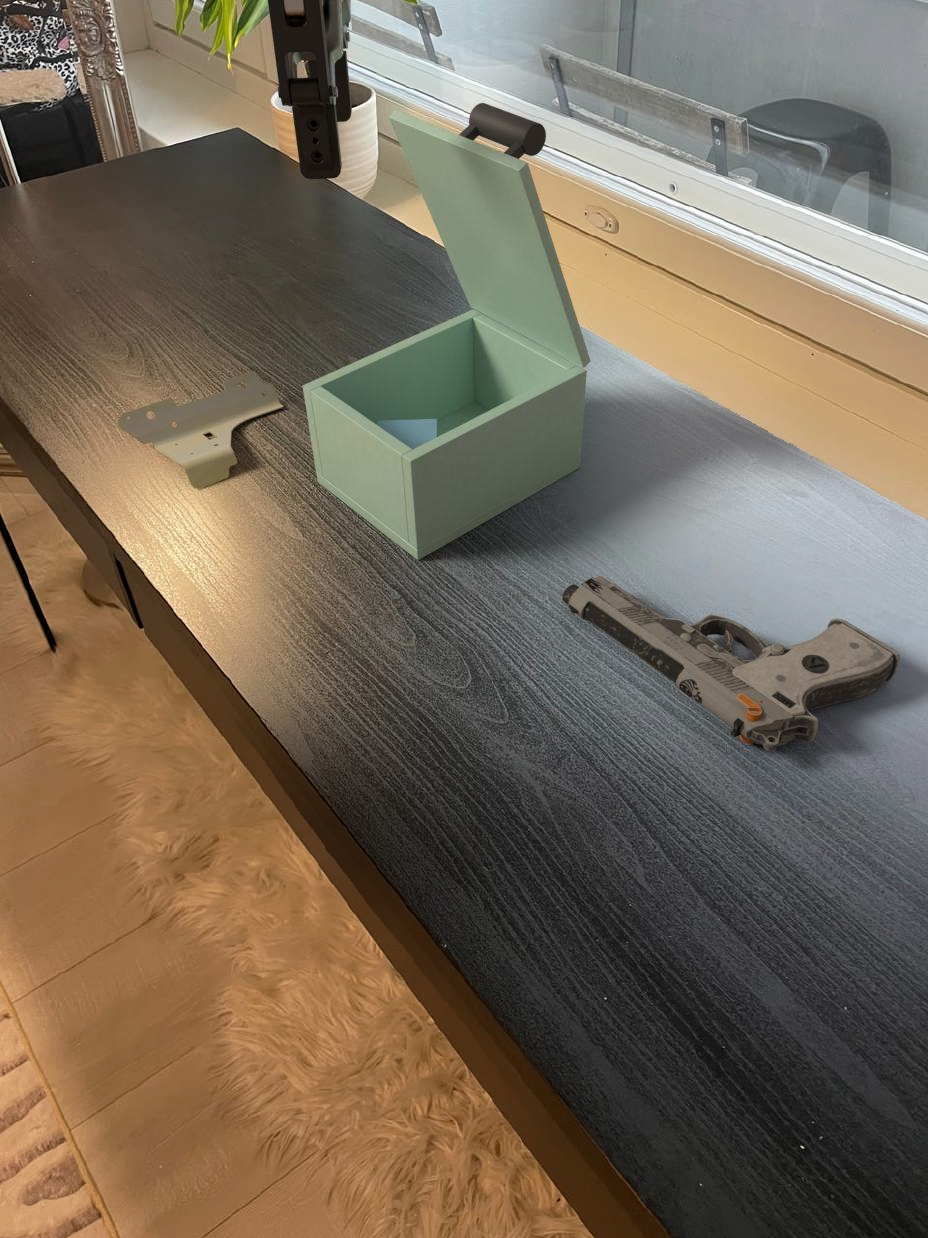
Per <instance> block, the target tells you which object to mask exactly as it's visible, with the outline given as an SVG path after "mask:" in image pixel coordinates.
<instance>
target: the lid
mask: <svg viewBox="0 0 928 1238" xmlns="http://www.w3.org/2000/svg"><path fill="white" fill-rule="evenodd" d="M388 120H389V122H390V124H391V126H392V129H393V131H394V133H395V136H396V138H397V141H398V143H399V145H400V147H401V149H402V152H403V154H404V156H405V159H406V162H407V164H408V166H409V168H410V170H411V173H412V176H413V177H414V180H415V182H416V184H417V187H418V189H419V191H420V193H421V196H422V199H423V201H424V203H425V205H426V207H427V210H428V212H429V214H430V217H431V219H432V221H433V223H434V226H435V228H436V231H437V233H438V235H439V238H440V239H441V242H442V244H443V247H444V249H445V251H446V254H447V256H448V258H449V260H450V261H449V262H450V263H451V266H452V267H453V270H454V273H455V274H456V277H457V279H458V281H459V284H460V286H461V288H462V290H463V293H464V295H465V298H466V300H467V302H468V304H469V307H470V308H471V309H474V310H476V311H478V312H480V313H481V314H483V315H485V316H487V317H489V318H491V319H492V320H494V321H496V322H498V323H500V324H502V325H504V326H505V327H507V328H509V329H511V330H513V331H515V332H516V333H518V334H520V335H522V336H524V337H526V338H528V339H529V340H531V341H533V342H535V343H537V344H539V345H540V346H542V347H544V348H546V349H548V350H550V351H552V352H553V353H555V354H557V355H559V356H561V357H563V358H565V359H566V360H568V361H570V362H572V363H574V364H576V365H577V366H580V367H581V368H583V369H585V368H586V366H588V364H590V362H591V358H590V354H589V352H588V348H587V345H586V342H585V339H584V336H583V332H582V330H581V327H580V323H579V321H578V317H577V314H576V311H575V307H574V304H573V301H572V298H571V294H570V292H569V289H568V286H567V281H566V279H565V275H564V272H563V270H562V269H563V268H562V267H561V264H560V260H559V257H558V254H557V251H556V247H555V244H554V241H553V238H552V236H551V235H552V234H551V232H550V229H549V226H548V225H549V224H548V222H547V220H546V216H545V214H544V213H545V212H544V209H543V207H542V203H541V200H540V197H539V194H538V191H537V188H536V184H535V182H534V178H533V175H532V173H531V169H530V166H529V163H528V161H524V160H522V159H521V158H522V157H523V156H524V155H526V156H528V157H534V156H537V155H538V154H539V153H540V152H541V151H542V150H543V148H544V147H545V144H546V140H547V132H546V129H545V127H544V125H543V124H542V123H539V122H537V121H534V120H532V119H528V118H526V117H523V116H522V115H521V116H520V115H518V114H516V113H512V112H510V111H507V110H504V109H502V108H499V107H496V106H493V105H491V104H489V103H485V102H480V103H477V104H476V105H475V106H474V107H473V108H472V109H471V111H470V114H469V118H468V126H466V127H465V128H464V129H463V130H462V131H461V132H460V133H459V134H458V133H455V132H453V131H450V130H448V129H445V128H442V127H441V126H438V125H436V124H433V123H431V122H428V121H426V120H423V119H421V118H418V117H415V116H412V115H410V114H408V113H405V112H404V111H401V110H398V109H395V110H394V111H393V112H392V113H391V114H390V115H389V116H388ZM478 137H481V138H483V139H486V140H489V141H491V142H494V143H496V144H498V145H500V146H501V145H502V146H504V147H507V149H506V150H505V151H504V152H502V151H499V150H497V149H495V148H493V147H490V146H488V145H485V144H483V143H480V142H477V141H475V140H476V139H477V138H478Z"/></svg>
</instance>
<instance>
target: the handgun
mask: <svg viewBox="0 0 928 1238" xmlns="http://www.w3.org/2000/svg"><path fill="white" fill-rule="evenodd" d="M561 597H562V598H561V599H562V602H563V603H565V604H566V605H567V607H568V609H569V610H570V612H571V613H572V614H575V615H577V616H579V618H581V619H583V620H585V621H589V622H590V623H591V624H592V625H594V626H595V627H597V628H598V629H600V630H601V631H603V632H604V634H607V635H608V637H609V636H610V637H611V638H612V639H613V640H614V641H616V642H617V643H619V644H620V645H621V646H623V647H624V648H626V649H627V650H628V651H630V652H631V653H633V654H634V655H635V656H637V657H638V658H640V659H641V660H642V661H644V662H645V663H647V664H648V665H650V666H651V667H652V668H654V669H656V670H657V671H658V672H659V673H661V674H662V675H663V676H665V677H667V678H668V679H669V680H671V681H672V682H673V683H675V687H676V689H678V690H680V691H681V692H682V693H684V694H685V695H687V696H688V698H690V699H692V700H693V701H695V702H696V703H698V704H699V705H700V706H702V707H703V708H704V709H706V710H707V711H709V712H710V713H711V714H712V715H713V716H715V717H716V718H718V719H719V720H721V721H722V722H724V724H726V725H728V726H729V727H731V728H732V730H731V732H730V735H731V736H732V737H733V738H737V737H739V739H740V740H741V741H742V742H743V743H745V744H747V745H750V746H752V745H753V744H757V745H762V746H763V748H764V749H765V751H768V752H775V751H776V750H777V748H778V747H779V746H783V745H787V744H788V741H792V740H796V741H797V740H798V741H802V742H806V743H812V742H813V741H814V739H815V738H816V736H817V734H818V730H819V720H818V718H817V716H815V715H813V714H812V713H811V712H810V711H812V710H815V709H818V708H823V707H826V706H830V705H834V704H838V703H839V704H840V703H843V702H847V701H853V700H856V699H859V698H863V697H866V696H867V695H870V694H872V693H874V692H875V691H876V690H878V689H879V688H880V687H881V686H882V685H884V683H889V682H890V681H891V680H892V679H893V677H895V675H896V672H897V670H898V667H899V663H900V653H899V652H898V651H897V650H895V649H894V648H892V647H891V646H888V645H887V644H885V643H884V642H883V641H881V640H879V639H877V638H875V636H874V637H873V636H872V635H871V634H869V633H867V632H866V631H864V630H862V629H861V628H859V627H857V626H856V625H854V624H852V623H850V622H849V621H847V620H844V619H841V618H833V619H830V620H829V622H828V624H827V627H826V629H825V630H824V631H822V632H821V633H820V634H818V635H816V636H814V637H812V638H811V639H809V640H806V641H803V642H800V643H796V644H793V645H790V646H786V647H785V646H783V644H781V643H773V644H771V645H769V644H768V643H766V642H765V641H764V640H763V639H762V638H761V636H758V635H757V633H755V632H753V631H752V630H751V629H749V628H748V627H746V626H744V625H743V624H741V623H739V622H738V621H736V620H733V619H731V618H729V617H724V616H721V615H716V614H712V613H710V614H708V615H706V616H705V617H704V618H702V619H700V620H699V621H697V622H695V623H693V624H691V625H690V624H688V623H687V622H685V621H684V620H682V619H679V618H668V617H665V616H662V615H661V614H660V613H658V612H656V611H655V610H654V609H652V608H651V607H649V606H647V605H646V604H644V603H643V602H641V600H638V598H635V596H633V595H631V594H630V593H628V592H627V591H626V590H624V589H623V588H621V587H620V586H618V585H617V584H616V583H612V582H611V581H610V580H608V579H607V578H605V577H604V576H602V575H598V576H597V577H590V578H589V579H587V580H585V581H584V582H581V583H580V585H579V586H578V585H577V584H575V583H574V584H573V583H572V584H570V585H569V586H567V587H566V589H565V590H564V592H563V594H562V596H561ZM713 635H715V636H716V635H717V636H721V637H723V638H724V639H725V642H726V644H725V645H724V646H723V647H722V646H721V645H720V644H718V643H716V642H715V641H713V640H712V639H710V638H709V637H708V636H713ZM734 641H735V642H737V643H738V644H740V645H742V646H743V647H744V648H746V649H747V650H748V651H749V652H751V654H753V656H754V657H755V658H753V659H744V658H740V657H738V656H737V655H735V654H733V653H732V651H733V650H732V649H733V645H734Z"/></svg>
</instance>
